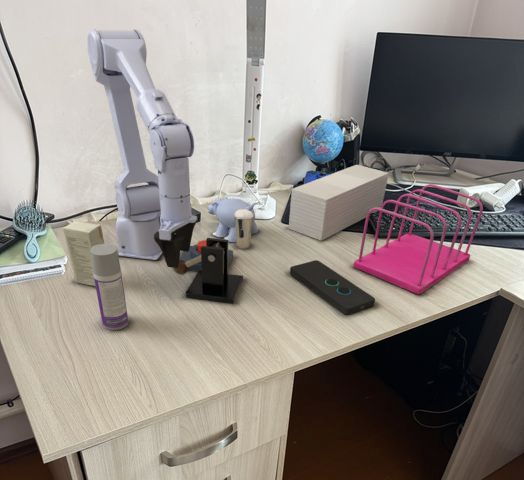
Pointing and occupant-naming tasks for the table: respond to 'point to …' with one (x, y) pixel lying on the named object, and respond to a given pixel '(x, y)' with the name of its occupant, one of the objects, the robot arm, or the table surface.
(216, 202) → the hippopotamus toy
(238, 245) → the milkshake
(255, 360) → the table surface
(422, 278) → the file sorter
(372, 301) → the smart home device
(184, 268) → the lever
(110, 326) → the container
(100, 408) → the table surface
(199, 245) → the button
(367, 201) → the stack of papers
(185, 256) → the button box
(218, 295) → the switch bracket
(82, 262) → the cosmetic box
